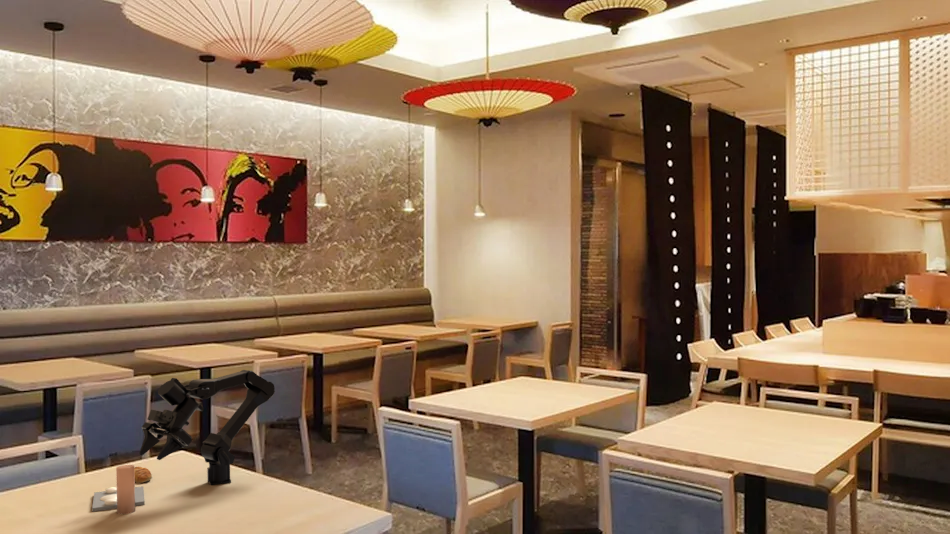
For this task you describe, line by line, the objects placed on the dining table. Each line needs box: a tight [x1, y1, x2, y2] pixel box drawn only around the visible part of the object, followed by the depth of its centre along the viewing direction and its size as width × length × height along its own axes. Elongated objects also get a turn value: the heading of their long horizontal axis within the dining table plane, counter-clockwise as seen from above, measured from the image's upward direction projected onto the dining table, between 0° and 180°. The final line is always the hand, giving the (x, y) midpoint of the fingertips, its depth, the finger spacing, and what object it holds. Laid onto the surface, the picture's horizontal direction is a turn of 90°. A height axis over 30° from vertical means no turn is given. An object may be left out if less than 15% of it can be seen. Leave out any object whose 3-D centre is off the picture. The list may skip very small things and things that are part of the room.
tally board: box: [91, 486, 145, 512], centre depth 233 cm, size 14×16×2 cm
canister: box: [115, 464, 136, 515], centre depth 223 cm, size 5×5×13 cm
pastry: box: [134, 466, 153, 484], centre depth 253 cm, size 9×7×4 cm
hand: (148, 457), depth 230 cm, fingers open, 9 cm apart
